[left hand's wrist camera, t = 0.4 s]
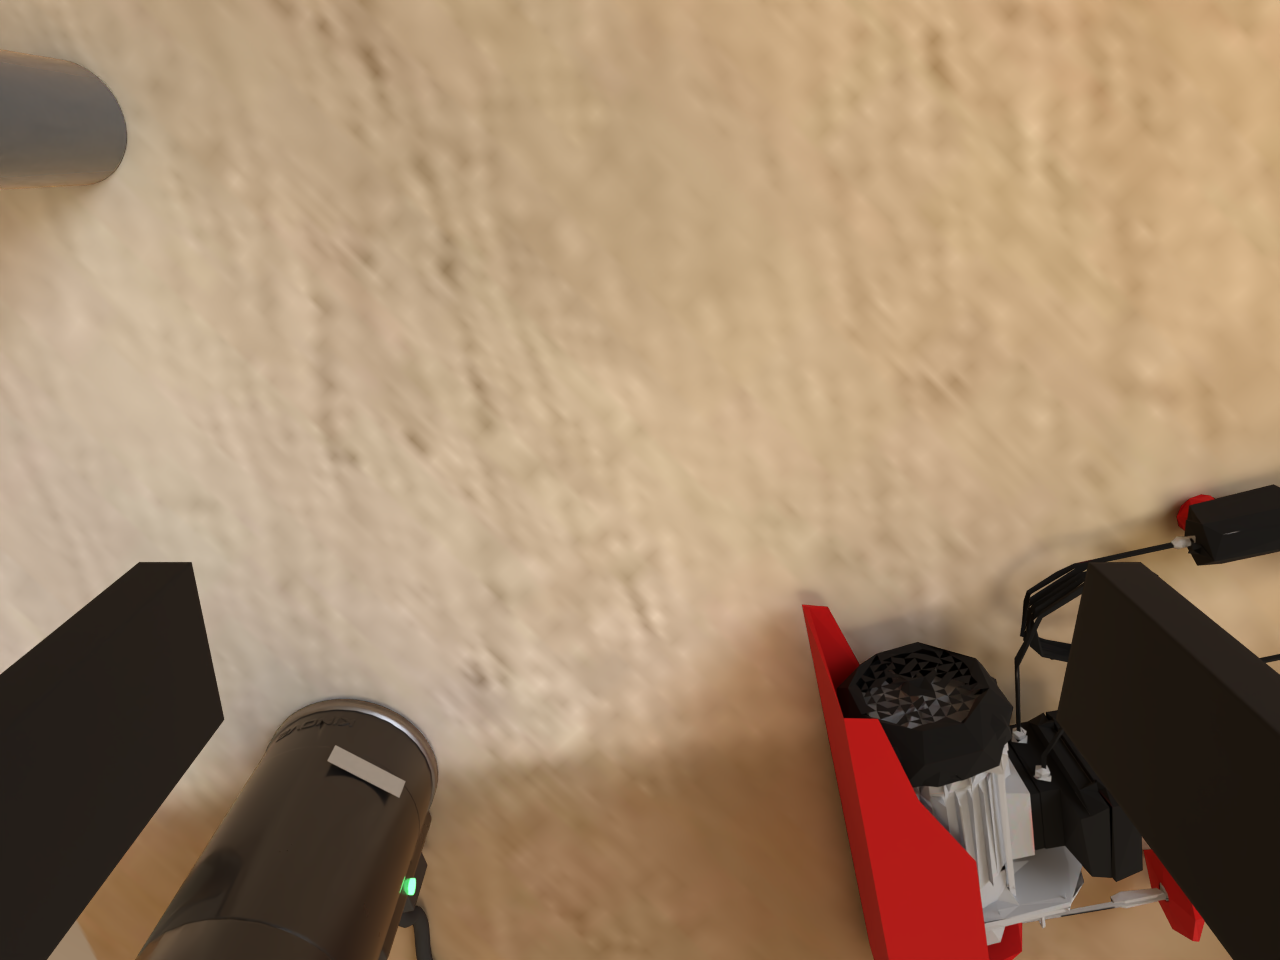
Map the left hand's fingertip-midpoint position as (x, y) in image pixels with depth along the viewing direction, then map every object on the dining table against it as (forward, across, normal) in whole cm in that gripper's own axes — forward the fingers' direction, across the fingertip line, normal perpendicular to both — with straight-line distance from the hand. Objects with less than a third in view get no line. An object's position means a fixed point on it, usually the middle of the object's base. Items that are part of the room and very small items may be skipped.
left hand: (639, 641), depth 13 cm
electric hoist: (+28, +26, -23) cm, 44 cm away
